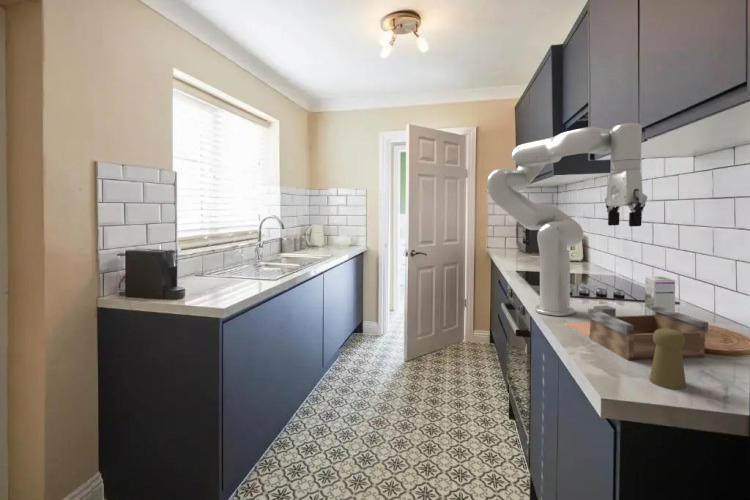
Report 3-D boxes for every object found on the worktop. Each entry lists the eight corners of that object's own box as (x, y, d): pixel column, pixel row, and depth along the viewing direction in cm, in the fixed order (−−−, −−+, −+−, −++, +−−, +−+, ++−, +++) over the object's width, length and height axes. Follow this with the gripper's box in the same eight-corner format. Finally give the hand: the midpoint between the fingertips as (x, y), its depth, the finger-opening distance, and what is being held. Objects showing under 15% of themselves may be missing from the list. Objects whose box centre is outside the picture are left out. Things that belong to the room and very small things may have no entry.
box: (587, 338, 107) (588, 308, 106) (656, 335, 107) (657, 306, 106) (625, 360, 91) (626, 325, 90) (706, 357, 91) (708, 322, 90)
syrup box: (675, 328, 113) (677, 279, 111) (652, 328, 114) (654, 279, 112) (664, 323, 118) (666, 276, 117) (643, 322, 119) (644, 276, 118)
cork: (674, 391, 75) (676, 336, 74) (642, 380, 80) (644, 328, 79) (693, 385, 77) (695, 331, 76) (660, 374, 83) (662, 324, 82)
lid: (565, 326, 120) (565, 304, 120) (618, 323, 122) (618, 301, 121) (588, 338, 109) (589, 314, 108) (647, 335, 110) (647, 311, 109)
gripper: (595, 171, 122) (594, 225, 124) (632, 164, 105) (630, 227, 106) (619, 170, 122) (617, 224, 124) (659, 163, 105) (657, 226, 106)
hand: (623, 225), depth 115 cm, fingers open, 9 cm apart
